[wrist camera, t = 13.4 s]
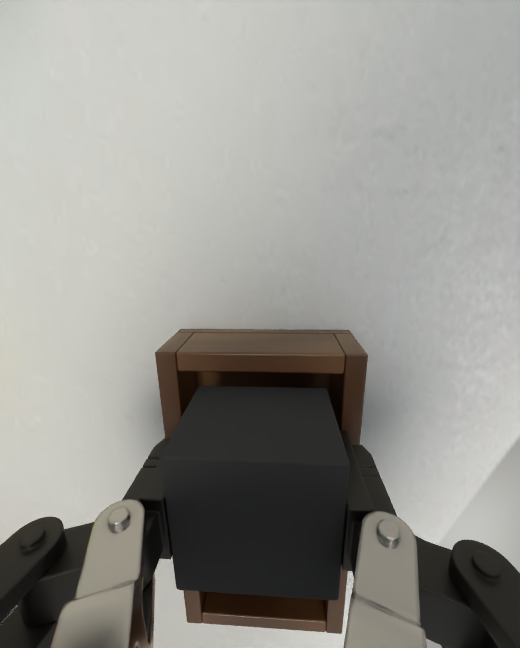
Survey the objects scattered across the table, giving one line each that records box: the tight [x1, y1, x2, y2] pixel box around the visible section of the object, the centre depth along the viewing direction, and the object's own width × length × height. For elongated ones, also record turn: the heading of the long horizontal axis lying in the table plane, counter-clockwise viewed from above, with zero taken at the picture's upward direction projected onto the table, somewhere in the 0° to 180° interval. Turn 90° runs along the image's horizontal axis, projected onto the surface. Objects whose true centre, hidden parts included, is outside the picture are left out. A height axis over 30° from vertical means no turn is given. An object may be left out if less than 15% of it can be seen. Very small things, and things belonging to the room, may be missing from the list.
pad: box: [160, 386, 350, 600], centre depth 10 cm, size 5×5×4 cm
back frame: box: [155, 329, 368, 634], centre depth 14 cm, size 8×15×3 cm, turn 1°
